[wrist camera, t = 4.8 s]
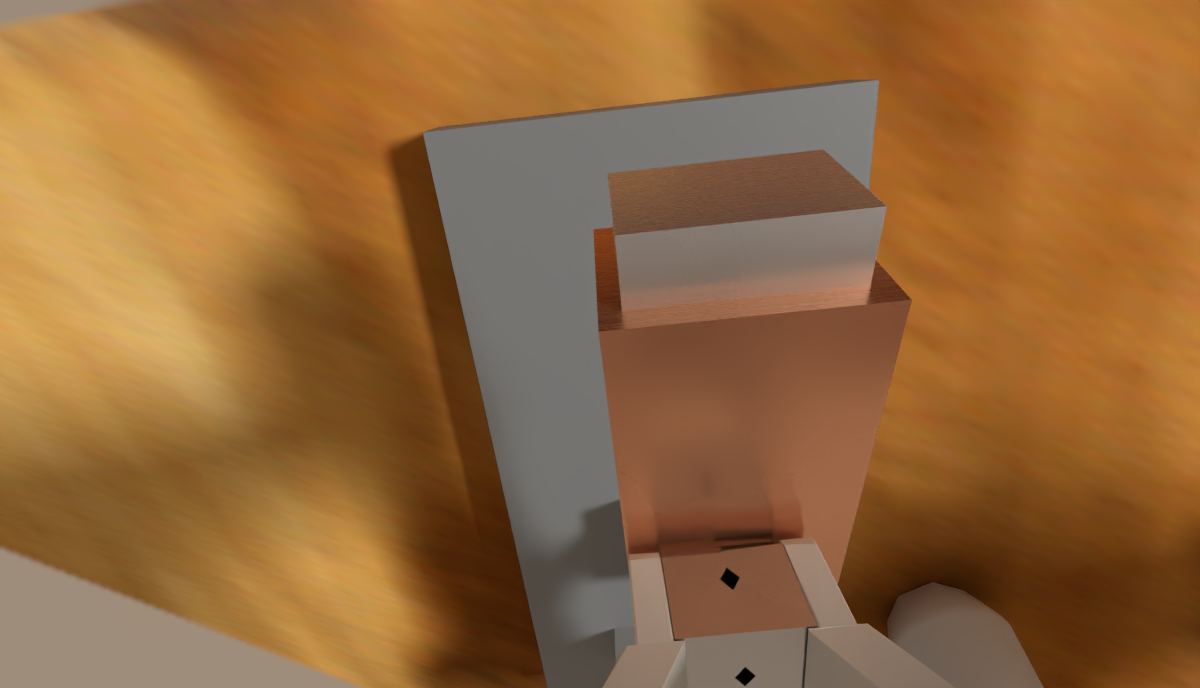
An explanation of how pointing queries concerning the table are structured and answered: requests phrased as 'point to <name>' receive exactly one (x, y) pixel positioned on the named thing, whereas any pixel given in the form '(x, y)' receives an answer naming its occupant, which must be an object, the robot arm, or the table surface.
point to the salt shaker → (960, 639)
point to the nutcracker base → (585, 317)
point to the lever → (744, 350)
